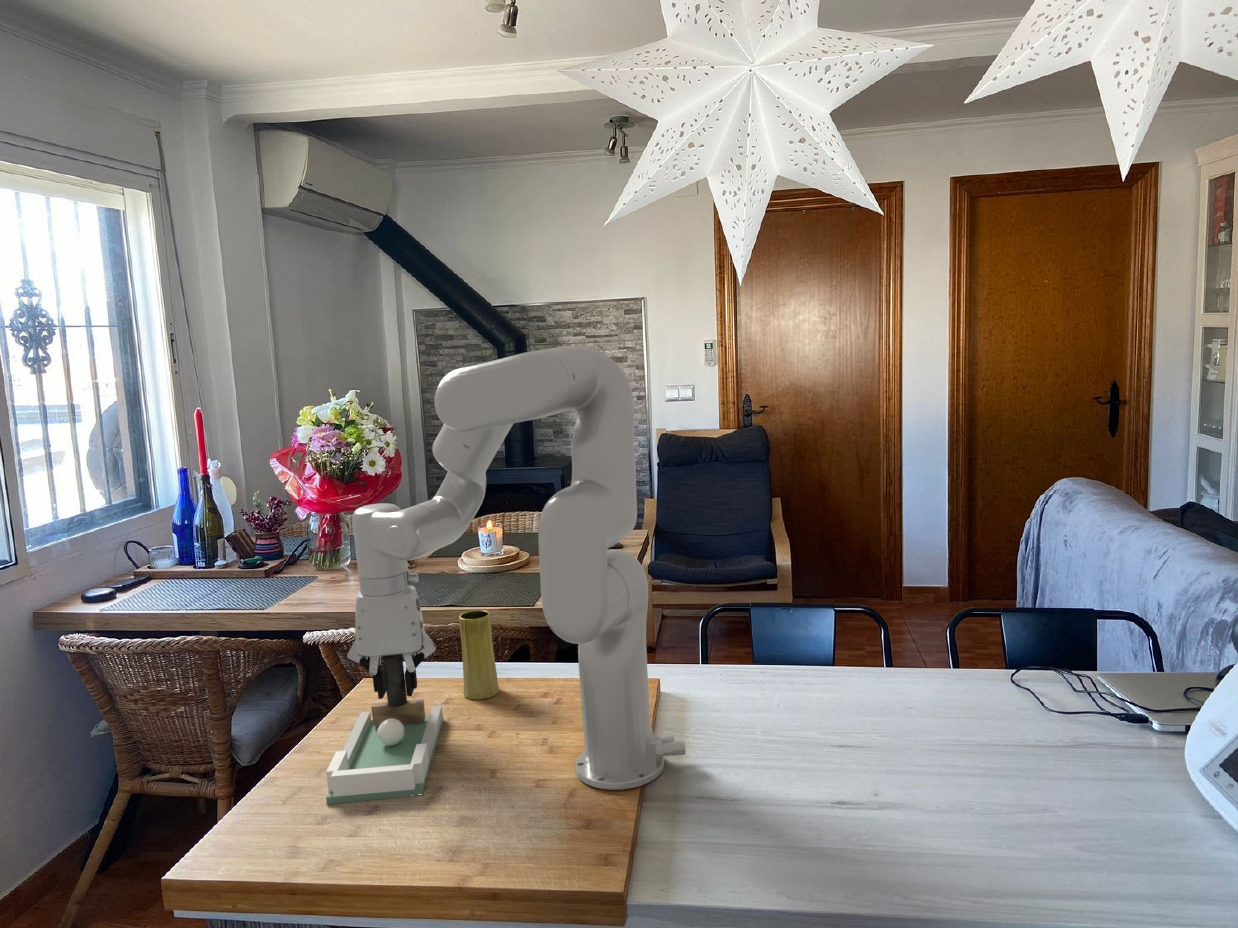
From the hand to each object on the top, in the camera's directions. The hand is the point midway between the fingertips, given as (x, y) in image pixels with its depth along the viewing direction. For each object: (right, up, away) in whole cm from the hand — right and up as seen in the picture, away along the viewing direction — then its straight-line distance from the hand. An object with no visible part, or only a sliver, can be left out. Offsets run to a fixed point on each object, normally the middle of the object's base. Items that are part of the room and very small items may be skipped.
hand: (396, 692), depth 148 cm
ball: (+1, -4, -6) cm, 8 cm away
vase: (+12, -4, +14) cm, 18 cm away
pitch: (+1, -8, -8) cm, 11 cm away
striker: (0, -5, +1) cm, 5 cm away
